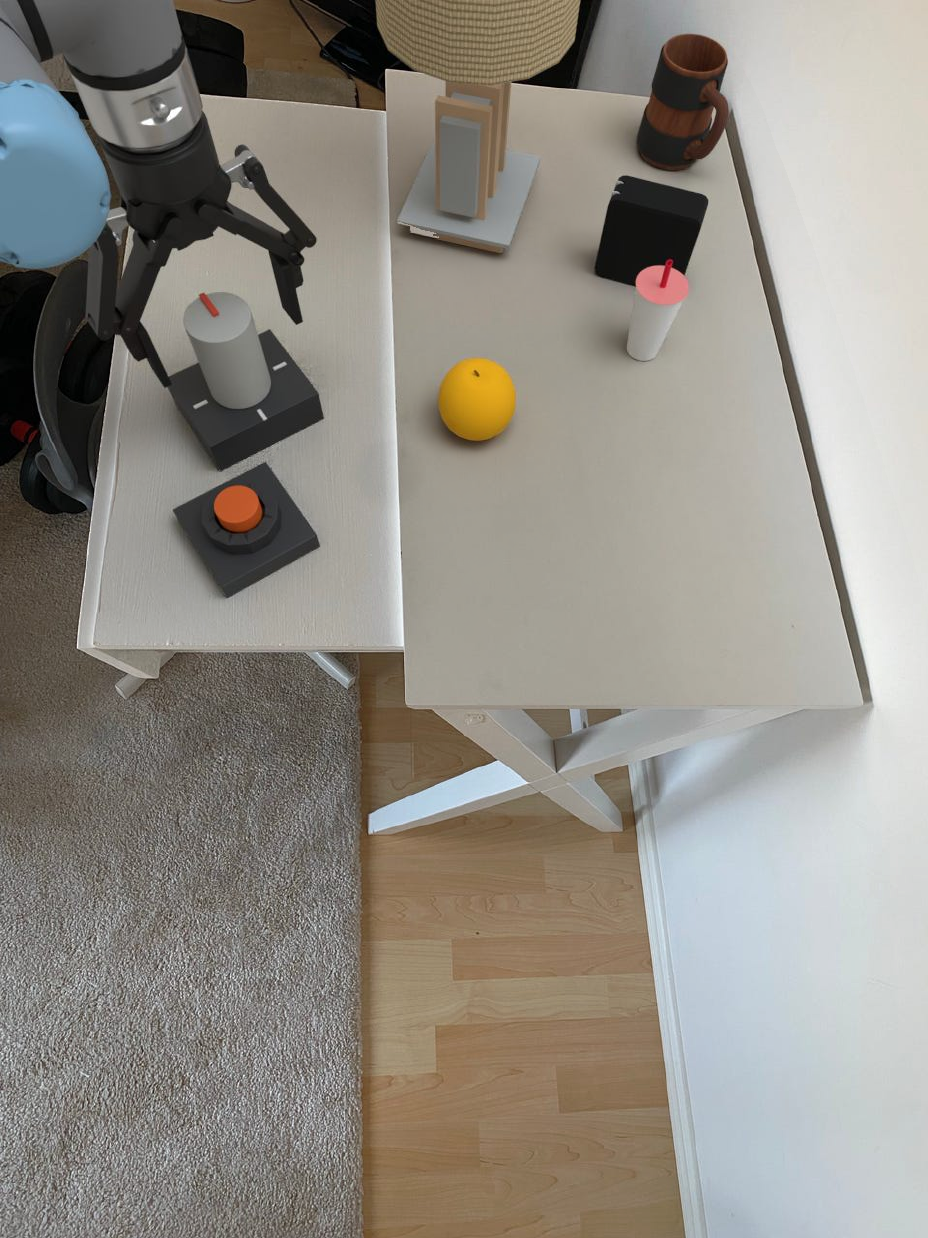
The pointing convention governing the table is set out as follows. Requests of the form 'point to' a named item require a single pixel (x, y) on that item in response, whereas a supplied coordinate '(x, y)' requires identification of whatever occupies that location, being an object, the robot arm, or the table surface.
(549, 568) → the table surface
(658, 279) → the cup
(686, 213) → the electronic device
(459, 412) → the yellow orange fruit
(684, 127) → the mug
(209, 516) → the button base
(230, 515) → the power button
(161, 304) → the table surface
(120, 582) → the table surface
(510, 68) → the desk lamp
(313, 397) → the dial panel
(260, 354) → the timer dial
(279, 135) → the table surface
